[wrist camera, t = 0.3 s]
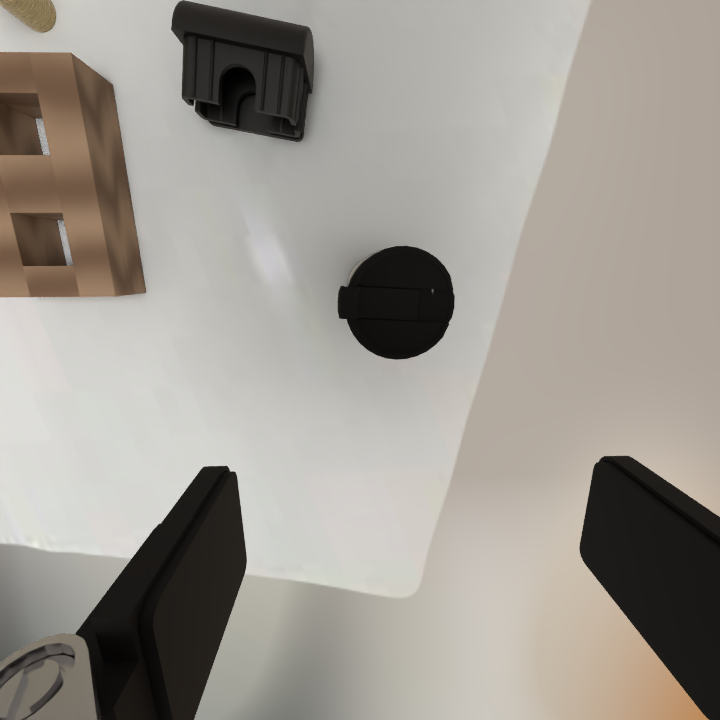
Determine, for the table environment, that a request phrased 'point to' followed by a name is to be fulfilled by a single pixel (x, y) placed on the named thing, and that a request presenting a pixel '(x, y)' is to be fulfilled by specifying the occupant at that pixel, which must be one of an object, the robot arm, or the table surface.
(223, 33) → the end cap
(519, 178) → the table surface
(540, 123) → the table surface
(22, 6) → the brass peg
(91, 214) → the hole block
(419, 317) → the travel mug
